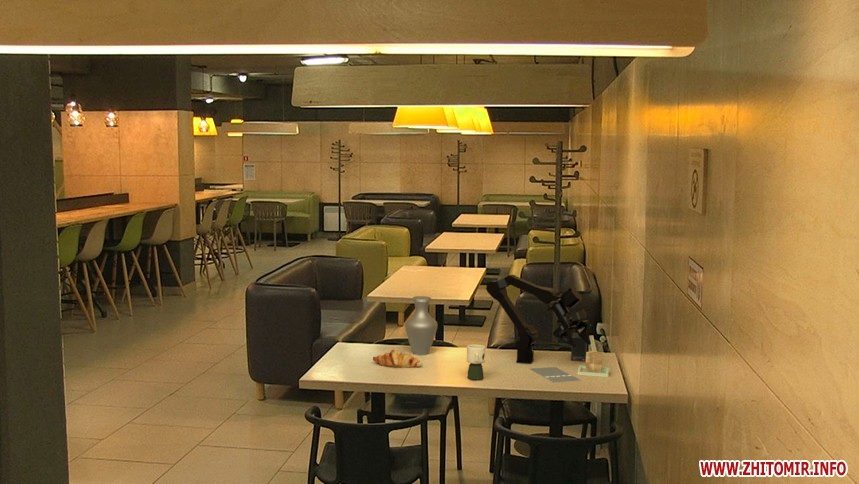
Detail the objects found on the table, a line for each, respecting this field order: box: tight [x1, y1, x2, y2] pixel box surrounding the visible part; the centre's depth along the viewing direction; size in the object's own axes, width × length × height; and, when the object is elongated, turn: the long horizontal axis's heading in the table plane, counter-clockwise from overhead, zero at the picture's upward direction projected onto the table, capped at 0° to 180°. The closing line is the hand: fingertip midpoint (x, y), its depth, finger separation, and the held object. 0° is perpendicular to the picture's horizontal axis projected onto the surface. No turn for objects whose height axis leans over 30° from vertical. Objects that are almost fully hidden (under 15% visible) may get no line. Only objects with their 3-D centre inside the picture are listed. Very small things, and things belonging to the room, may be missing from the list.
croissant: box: [372, 349, 423, 369], centre depth 348 cm, size 21×10×8 cm, turn 79°
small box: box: [570, 332, 588, 362], centre depth 368 cm, size 11×6×10 cm, turn 168°
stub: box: [585, 350, 603, 373], centre depth 338 cm, size 4×5×9 cm
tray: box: [577, 364, 610, 378], centre depth 338 cm, size 12×12×2 cm
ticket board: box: [529, 366, 582, 383], centre depth 333 cm, size 22×12×2 cm, turn 19°
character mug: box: [466, 344, 486, 381], centre depth 329 cm, size 11×7×13 cm, turn 1°
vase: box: [404, 295, 438, 356], centre depth 370 cm, size 14×14×25 cm
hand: (582, 345), depth 342 cm, fingers open, 9 cm apart
